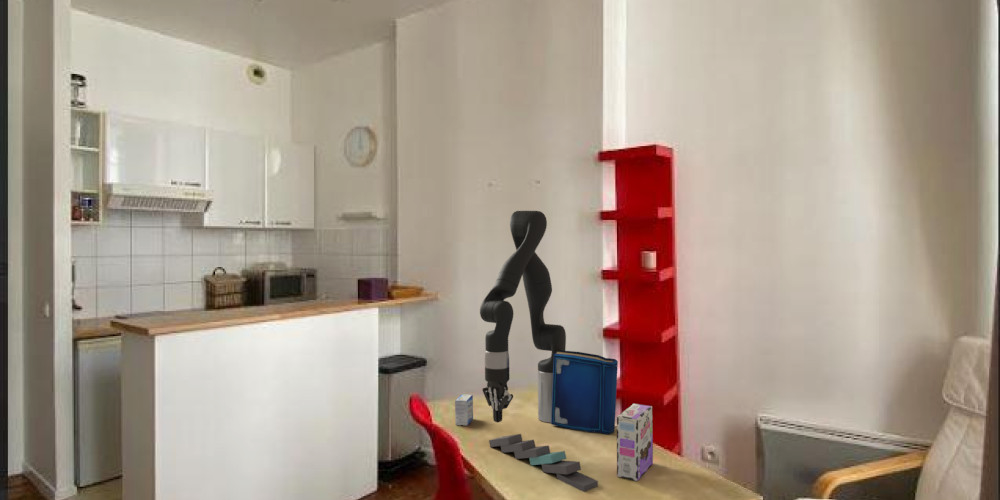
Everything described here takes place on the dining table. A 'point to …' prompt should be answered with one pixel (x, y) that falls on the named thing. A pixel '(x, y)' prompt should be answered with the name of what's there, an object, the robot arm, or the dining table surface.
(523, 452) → the domino
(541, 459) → the domino
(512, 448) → the domino
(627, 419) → the candy box
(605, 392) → the book
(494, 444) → the domino
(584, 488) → the domino
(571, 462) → the domino
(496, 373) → the robot arm
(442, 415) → the dining table surface
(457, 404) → the medicine box
